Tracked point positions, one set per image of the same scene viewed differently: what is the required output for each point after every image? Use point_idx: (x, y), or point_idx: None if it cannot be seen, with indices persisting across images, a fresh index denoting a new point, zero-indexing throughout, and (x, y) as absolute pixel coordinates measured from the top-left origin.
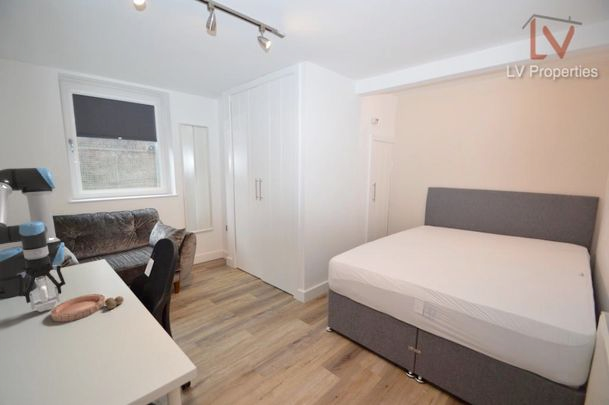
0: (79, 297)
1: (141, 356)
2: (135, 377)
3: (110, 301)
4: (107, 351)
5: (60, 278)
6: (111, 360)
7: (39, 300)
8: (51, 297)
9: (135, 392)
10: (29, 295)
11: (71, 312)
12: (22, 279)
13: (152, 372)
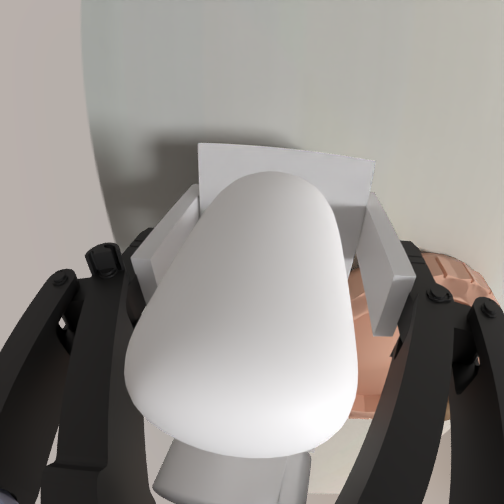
0: (452, 293)
1: (345, 482)
2: (322, 488)
3: (444, 420)
4: (326, 471)
5: (458, 436)
6: (320, 478)
7: (238, 172)
8: (333, 186)
9: (312, 492)
10: (146, 303)
11: (358, 361)
12: (31, 491)
13: (336, 489)
